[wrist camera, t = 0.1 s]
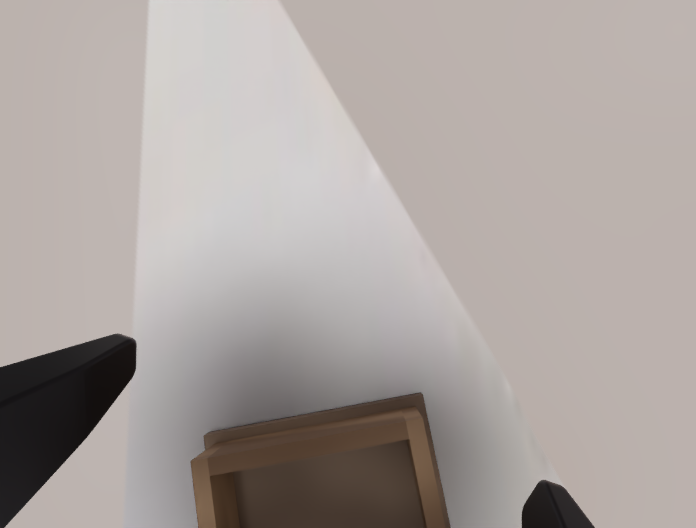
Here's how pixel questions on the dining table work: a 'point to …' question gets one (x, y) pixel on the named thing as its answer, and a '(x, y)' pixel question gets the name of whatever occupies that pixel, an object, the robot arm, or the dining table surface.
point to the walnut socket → (324, 471)
